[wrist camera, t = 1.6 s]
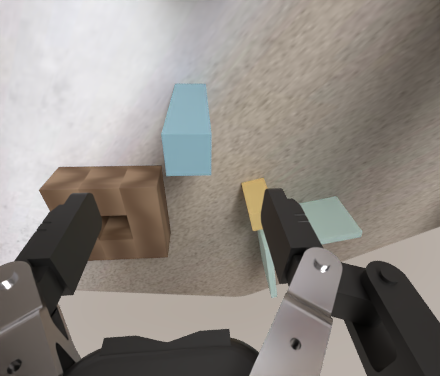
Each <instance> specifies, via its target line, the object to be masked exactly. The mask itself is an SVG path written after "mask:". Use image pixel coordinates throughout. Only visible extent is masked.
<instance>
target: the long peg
mask: <svg viewBox="0 0 440 376" xmlns="http://www.w3.org/2000/svg"><path fill="white" fill-rule="evenodd" d="M161 136H162V144H163V152H164V160H165V168H166V175H167V176H194V175H211V126H210V118H209V109H208V101H207V92H206V84H175V87H174V91H173V94H172V98H171V101H170V105H169V109H168V112H167V116H166V119H165V123H164V126H163V130H162V134H161Z"/></svg>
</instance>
